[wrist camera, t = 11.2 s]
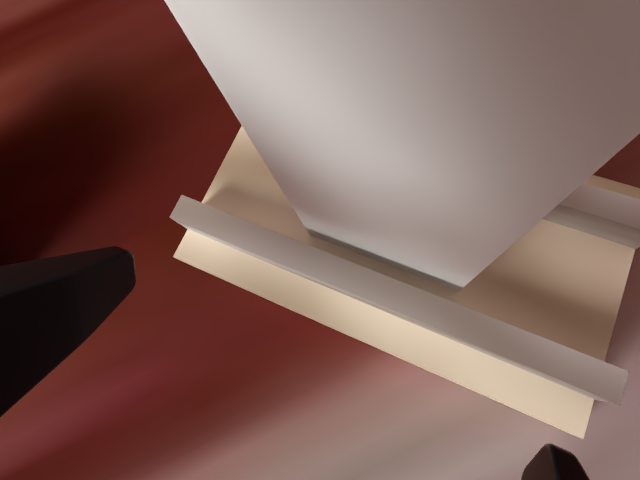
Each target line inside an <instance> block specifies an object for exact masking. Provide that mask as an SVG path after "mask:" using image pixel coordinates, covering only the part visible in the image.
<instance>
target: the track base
mask: <svg viewBox="0 0 640 480" xmlns="http://www.w3.org/2000/svg"><path fill="white" fill-rule="evenodd" d="M170 218H171V219H173V220H174V221H176V222H177V223H179V224H181V225H182V226H184V227H185V228H187V229H188V230H187V232H186V233H185V235H184V237H183V239H182V241H181V243H180V245H179V247H178V249H177V251H176V253H175V254H174V256H173V257H174V258H177V259H179V260H181V261H183V262H185V263H187V264H189V265H192V266H194V267H196V268H198V269H201V270H203V271H205V272H207V273H210V274H212V275H214V276H216V277H219V278H221V279H223V280H225V281H228V282H230V283H232V284H234V285H237V286H239V287H241V288H243V289H246V290H248V291H250V292H252V293H255V294H257V295H259V296H261V297H264V298H266V299H268V300H270V301H272V302H275V303H277V304H279V305H281V306H284V307H286V308H288V309H290V310H293V311H295V312H297V313H299V314H302V315H304V316H306V317H308V318H311V319H313V320H315V321H317V322H320V323H322V324H324V325H326V326H329V327H331V328H333V329H335V330H338V331H340V332H342V333H344V334H347V335H349V336H351V337H353V338H356V339H358V340H360V341H362V342H365V343H367V344H369V345H371V346H374V347H376V348H378V349H380V350H383V351H385V352H387V353H389V354H392V355H394V356H396V357H398V358H400V359H403V360H405V361H407V362H409V363H412V364H414V365H416V366H418V367H421V368H423V369H425V370H427V371H430V372H432V373H434V374H436V375H439V376H441V377H443V378H445V379H448V380H450V381H452V382H454V383H457V384H459V385H461V386H463V387H466V388H468V389H470V390H472V391H475V392H477V393H479V394H481V395H484V396H486V397H488V398H490V399H493V400H495V401H497V402H499V403H502V404H504V405H506V406H508V407H511V408H513V409H515V410H517V411H520V412H522V413H524V414H526V415H528V416H531V417H533V418H535V419H537V420H540V421H542V422H544V423H546V424H549V425H551V426H553V427H555V428H558V429H560V430H562V431H565V432H567V433H569V434H572V435H574V436H576V437H579V438H581V439H584V435H585V431H586V428H587V424H588V420H589V417H590V413H591V409H592V406H593V402H594V399H595V400H599V401H604V402H609V403H614V404H619V405H620V404H621V400H622V397H623V393H624V389H625V385H626V381H627V377H628V373H629V371H627V370H624V369H622V368H619V367H617V366H614V365H612V364H609V363H606V362H605V358H606V355H607V351H608V347H609V344H610V340H611V336H612V333H613V329H614V325H615V322H616V318H617V315H618V311H619V307H620V304H621V300H622V296H623V293H624V289H625V285H626V282H627V278H628V274H629V271H630V267H631V263H632V260H633V256H634V252H635V249H637V248H639V247H640V188H637V187H633V186H630V185H627V184H623V183H620V182H616V181H613V180H609V179H606V178H602V177H599V176H595V175H592V176H590V177H589V178H588V179H587V180H586V181H585V182H584V183H582V184H581V185H580V186H579V187H578V188H577V189H575V190H574V191H573V192H572V193H571V194H570V195H569V196H567V197H566V198H565V199H564V200H563V201H562V202H561V203H559V204H558V205H557V206H556V207H555V208H554V209H553V210H551V211H550V212H549V213H548V214H547V215H546V216H545V217H543V218H542V219H541V220H540V221H539V222H538V223H537V224H535V225H534V226H533V227H532V228H531V229H530V230H529V231H527V232H526V233H525V234H524V235H523V236H522V237H520V238H519V239H518V240H517V241H516V242H515V243H514V244H512V245H511V246H510V247H509V248H508V249H507V250H506V251H504V252H503V253H502V254H501V255H500V256H499V257H498V258H496V259H495V260H494V261H493V262H492V263H491V264H490V265H488V266H487V267H486V268H485V269H484V270H483V271H482V272H480V273H479V274H478V275H477V276H476V277H475V278H474V279H472V280H471V281H470V282H469V283H468V284H467V285H465V286H464V287H463V288H462V289H461V290H460V291H459V292H457V291H455V290H452V289H450V288H447V287H444V286H442V285H439V284H436V283H434V282H431V281H429V280H426V279H423V278H421V277H418V276H416V275H413V274H410V273H408V272H405V271H403V270H400V269H397V268H395V267H392V266H390V265H387V264H384V263H382V262H379V261H377V260H374V259H371V258H369V257H366V256H364V255H361V254H358V253H356V252H353V251H351V250H348V249H345V248H343V247H340V246H338V245H335V244H332V243H330V242H327V241H325V240H322V239H319V238H317V237H314V236H312V235H310V234H309V233H308V231H307V230H306V228H305V226H304V225H303V223H302V222H301V220H300V218H299V217H298V215H297V213H296V212H295V210H294V209H293V207H292V205H291V204H290V202H289V201H288V199H287V197H286V196H285V194H284V193H283V191H282V189H281V188H280V186H279V184H278V183H277V181H276V180H275V178H274V176H273V175H272V173H271V172H270V170H269V168H268V167H267V165H266V164H265V162H264V160H263V159H262V157H261V155H260V154H259V152H258V151H257V149H256V147H255V146H254V144H253V143H252V141H251V139H250V138H249V136H248V134H247V133H246V131H245V130H244V128H243V126H242V127H241V128H240V130H239V132H238V134H237V136H236V138H235V140H234V142H233V144H232V146H231V148H230V149H229V151H228V153H227V155H226V157H225V159H224V161H223V163H222V165H221V167H220V169H219V170H218V172H217V174H216V176H215V178H214V180H213V182H212V184H211V186H210V188H209V190H208V191H207V193H206V195H205V197H204V199H203V201H202V203H201V202H198V201H196V200H193V199H191V198H188V197H186V196H183V195H181V197H180V199H179V201H178V203H177V204H176V206H175V208H174V210H173V212H172V214H171V216H170Z"/></svg>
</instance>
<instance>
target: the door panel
mask: <svg viewBox="0 0 640 480" xmlns="http://www.w3.org/2000/svg"><path fill="white" fill-rule="evenodd" d="M164 1H165V2H166V4H167V5H168V7H169V9H170V10H171V12H172V14H173V15H174V17H175V18H176V20H177V22H178V23H179V25H180V26H181V28H182V30H183V31H184V33H185V34H186V36H187V38H188V39H189V41H190V43H191V44H192V46H193V47H194V49H195V51H196V52H197V54H198V55H199V57H200V59H201V60H202V62H203V64H204V65H205V67H206V68H207V70H208V72H209V73H210V75H211V76H212V78H213V80H214V81H215V83H216V84H217V86H218V88H219V89H220V91H221V93H222V94H223V96H224V97H225V99H226V101H227V102H228V104H229V105H230V107H231V109H232V110H233V112H234V114H235V115H236V117H237V118H238V120H239V122H240V123H241V125H242V126H243V128H244V130H245V131H246V133H247V134H248V136H249V138H250V139H251V141H252V143H253V144H254V146H255V147H256V149H257V151H258V152H259V154H260V155H261V157H262V159H263V160H264V162H265V164H266V165H267V167H268V168H269V170H270V172H271V173H272V175H273V176H274V178H275V180H276V181H277V183H278V184H279V186H280V188H281V189H282V191H283V193H284V194H285V196H286V197H287V199H288V201H289V202H290V204H291V205H292V207H293V209H294V210H295V212H296V213H297V215H298V217H299V218H300V220H301V222H302V223H303V225H304V226H305V228H306V230H307V231H308V233H309V234H310V235H312V236H314V237H317V238H319V239H322V240H325V241H327V242H330V243H332V244H335V245H338V246H340V247H343V248H345V249H348V250H351V251H353V252H356V253H358V254H361V255H364V256H366V257H369V258H371V259H374V260H377V261H379V262H382V263H384V264H387V265H390V266H392V267H395V268H397V269H400V270H403V271H405V272H408V273H410V274H413V275H416V276H418V277H421V278H423V279H426V280H429V281H431V282H434V283H436V284H439V285H442V286H444V287H447V288H450V289H452V290H455V291H457V292H459V291H460V290H461V289H462V288H463V287H464V286H465V285H467V284H468V283H469V282H470V281H471V280H472V279H474V278H475V277H476V276H477V275H478V274H479V273H480V272H482V271H483V270H484V269H485V268H486V267H487V266H488V265H490V264H491V263H492V262H493V261H494V260H495V259H496V258H498V257H499V256H500V255H501V254H502V253H503V252H504V251H506V250H507V249H508V248H509V247H510V246H511V245H512V244H514V243H515V242H516V241H517V240H518V239H519V238H520V237H522V236H523V235H524V234H525V233H526V232H527V231H529V230H530V229H531V228H532V227H533V226H534V225H535V224H537V223H538V222H539V221H540V220H541V219H542V218H543V217H545V216H546V215H547V214H548V213H549V212H550V211H551V210H553V209H554V208H555V207H556V206H557V205H558V204H559V203H561V202H562V201H563V200H564V199H565V198H566V197H567V196H569V195H570V194H571V193H572V192H573V191H574V190H575V189H577V188H578V187H579V186H580V185H581V184H582V183H584V182H585V181H586V180H587V179H588V178H589V177H590V176H592V175H593V174H594V173H595V172H596V171H597V170H598V169H600V168H601V167H602V166H603V165H604V164H605V163H606V162H608V161H609V160H610V159H611V158H612V157H613V156H614V155H616V154H617V153H618V152H619V151H620V150H621V149H622V148H624V147H625V146H626V145H627V144H628V143H629V142H630V141H632V140H633V139H634V138H635V137H636V136H637V135H638V134H640V0H164Z"/></svg>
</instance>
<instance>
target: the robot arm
mask: <svg viewBox="0 0 640 480" xmlns="http://www.w3.org/2000/svg"><path fill="white" fill-rule="evenodd" d="M135 282H136V276H135V264H134V256H133V255H132V253H131V252H129V251H127V250H124V249H122V248H120V247H116V246H114V247H107V248H102V249H96V250H90V251H84V252H79V253H73V254H67V255H61V256H55V257H50V258H44V259H38V260H32V261H27V262H21V263H15V264H9V265H4V266H0V417H1V416H2V415H3V414H4V413H6V412H7V411H8V410H9V409H10V408H11V407H12V406H13V405H14V404H16V403H17V402H18V401H19V400H20V399H21V398H22V397H23V396H24V395H26V394H27V393H28V392H29V391H30V390H31V389H32V388H33V387H34V386H36V385H37V384H38V383H39V382H40V381H41V380H42V379H43V378H44V377H46V376H47V375H48V374H49V373H50V372H51V371H52V370H53V369H55V368H56V367H57V366H58V365H59V364H60V363H61V362H62V361H63V360H65V359H66V358H67V357H68V356H69V355H70V354H71V353H72V352H73V351H75V350H76V349H77V348H78V347H79V346H80V345H81V344H82V343H83V342H84V341H85V340H86V339H87V338H88V337H89V336H90V335H91V334H92V333H93V332H94V331H95V330H96V329H97V328H98V327H99V326H100V324H101V323H102V322H103V321H104V320H105V319H106V318H107V317H108V316H109V315H110V314H111V313H112V311H113V310H114V309H115V308H116V307H117V306H118V305H119V304H120V303H121V302H122V301H123V300H124V299H125V297H126V296H127V295H128V294H129V293H130V292H131V291H132V289H133V288H134V286H135ZM521 480H590V479H589V477H588V476H587V474H586V472H585V471H584V469H583V467H582V466H581V464H580V462H579V461H578V459H577V458H576V457H575V456H574V455H573V454H572V453H571V452H569V451H566V450H564V449H562V448H560V447H558V446H555V445H553V444H546V445H544V446H543V447H542V448H541V449H540V451H539V452H538V453H537V454H536V455H535V457H534V458H533V459H532V460H531V461H530V463H529V464H528V465H527V466H526V468H525V469H524V472H523V474H522V478H521Z"/></svg>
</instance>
